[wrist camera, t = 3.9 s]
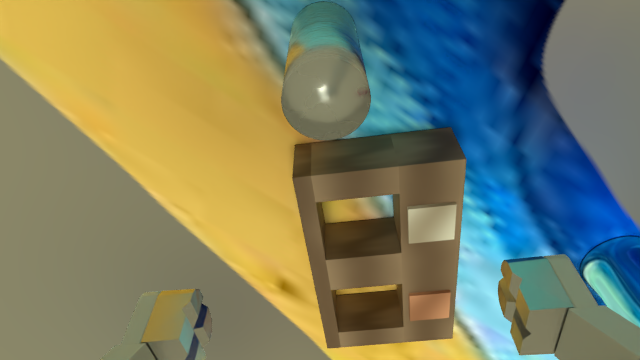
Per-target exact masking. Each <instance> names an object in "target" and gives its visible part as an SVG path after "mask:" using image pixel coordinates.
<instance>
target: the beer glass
mask: <svg viewBox="0 0 640 360" xmlns="http://www.w3.org/2000/svg"><path fill="white" fill-rule="evenodd" d="M580 272H581V275H582V277H583V279H584V280H585V281H586V282H587V284H588V285H589V286H590V287H591V288H592V289H593V290H594V291H595V292H596V293H597V294H598V295H599V296H600V297H601V299H602V300H603V301H604V303H605V304H606V306H607V307H608V308H610V309H611V310H613V311H614V312H616V313H617V314H619V315H621V316H622V317H624V318H625V319H627V320H628V321H630V322H632V323H633V324H635V325H636V326H638V327H640V237H634V236H626V237H619V238H615V239H612V240H609V241H606V242H604V243H602V244H600V245H598V246H597V247H595V248H594V249H593V250H591V251H590V252H589V253H588V254H587V255H586V256H585V258H584V259H583V261H582V263H581V266H580Z"/></svg>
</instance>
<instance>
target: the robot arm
mask: <svg viewBox="0 0 640 360" xmlns="http://www.w3.org/2000/svg"><path fill="white" fill-rule="evenodd" d="M501 272H502V274H503V278H502V279H501V280H500V281H499V285H498V296H499V302H500V306H501V310H502V312H503V315H504V317H505V318H506V319H508V320H509V321H510V322H512V325H511V331H510V333H511V335H512V338H513V340H514V343H515V345H516V348H517V350H518V353H519V355H534V354H555V356H556V357H557V358H558V359H559V360H640V327H638V326H636V325H635V324H633V323H632V322H630V321H628V320H627V319H625V318H624V317H622V316H621V315H619V314H617V313H616V312H614V311H613V310H611V309H610V308H608V307H606V306H598V304H597V303H596V301H595V299H594V298H593V296H592V294H591V293H590V291H589V290H588V288H587V286H586V285H585V283H584V282H583V280H582V278H581V277H580V275H579V274H578V272H577V270H576V269H575V267H574V265H573V264H572V262H571V261H570V259H569V257H567V256H566V255H565V254H563V255H552V256H544V257H542V256H539V257H529V258H520V259H510V260H504V261H503V262H502V265H501ZM202 300H203V296H202V293H201V292H200V290H199V289H186V290H171V291H158V292H145V293H143V295H142V296H141V297H140V298H139V301H138V303H137V305H136V308H135V310H134V313H133V315H132V318H131V320H130V323H129V325H128V328H127V330H126V333H125V335H124V337H123V340H122V342H121V345H116V346H114V347H113V348H112V349H111V350H110V351H109V352H108V353H107V354H105V355H104V356H103V357H102V358H101V359H100V360H206V354H205V352H204V350H203V348H204V347H205V345H206V344H207V343H208V342H209V341H210V337H211V332H212V318H211V313H210V311H209V308H208V307H207V306H205V305H204V304H202Z"/></svg>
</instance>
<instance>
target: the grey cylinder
mask: <svg viewBox="0 0 640 360" xmlns="http://www.w3.org/2000/svg"><path fill="white" fill-rule="evenodd" d="M281 103H282V109H283V112H284V115H285V117H286V119H287V120H288V122H289V123H290V124H291V126H292V127H293V128H294V129H295V130H297V131H298V132H299V133H301V134H303V135H305V136H307V137H310V138H313V139H318V140H333V139H338V138H342V137H344V136H346V135H348V134H350V133H352V132H353V131H354V130H356V129H357V128H358V127H359V126H360V125H361V124H362V123H363V121H364V120H365V118H366V116H367V114H368V112H369V108H370V103H371V95H370V89H369V85H368V80H367V76H366V71H365V67H364V63H363V58H362V54H361V49H360V45H359V40H358V36H357V31H356V27H355V24H354V21H353V19H352V17H351V16H350V14H349V13H348V12H347V11H346V10H345V9H344V8H343V7H341V6H339V5H337V4H335V3H332V2H324V1H323V2H316V3H313V4H310V5H308V6H306V7H305V8H303V9H302V10H301V11H300V12H299V13H298V15H297V16H296V18H295V19H294V21H293V24H292V28H291V34H290V41H289V48H288V55H287V62H286V68H285V75H284V82H283V89H282V96H281Z"/></svg>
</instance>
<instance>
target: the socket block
mask: <svg viewBox="0 0 640 360" xmlns="http://www.w3.org/2000/svg"><path fill="white" fill-rule="evenodd" d="M465 169H466V157H465V155H464V153H463V151H462V149H461V147H460V145H459V143H458V141H457V139H456V137H455V135H454V133H453V131H452V129H451V127H449V128H440V129H431V130H422V131H414V132H405V133H396V134H387V135H379V136H370V137H361V138H352V139H344V140H335V141H326V142H317V143H309V144H300V145H295V151H294V164H293V177H292V178H293V183H294V188H295V193H296V198H297V203H298V207H299V212H300V217H301V222H302V227H303V232H304V236H305V241H306V246H307V251H308V256H309V261H310V266H311V270H312V275H313V280H314V285H315V290H316V295H317V299H318V304H319V309H320V314H321V319H322V324H323V329H324V333H325V338H326V343H327V348H339V347H351V346H364V345H376V344H389V343H401V342H413V341H426V340H438V339H451V338H452V336H453V323H454V310H455V297H456V285H457V272H458V259H459V246H460V233H461V221H462V208H463V195H464V182H465ZM391 194H393V210H394V217H391V218H381V219H371V220H361V221H352V222H342V223H332V224H325V222H324V215H323V209H322V203H321V202H324V201H334V200H343V199H353V198H362V197H372V196H381V195H391ZM394 284H397V290H392V291H381V292H370V293H359V294H347V295H337V294H336V290H339V289H350V288H361V287H372V286H383V285H394Z"/></svg>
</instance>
